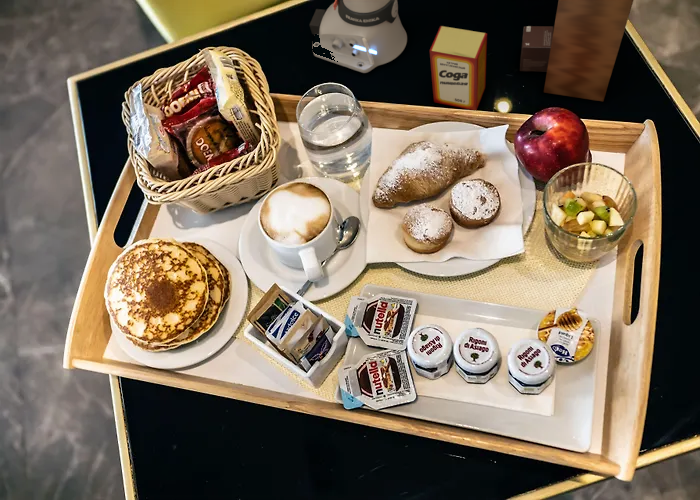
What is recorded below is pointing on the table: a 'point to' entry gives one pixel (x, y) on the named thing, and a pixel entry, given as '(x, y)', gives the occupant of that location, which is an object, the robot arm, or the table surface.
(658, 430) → the table surface
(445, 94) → the baking soda box
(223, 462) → the table surface
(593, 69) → the wooden high-back chair
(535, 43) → the box
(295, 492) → the table surface
